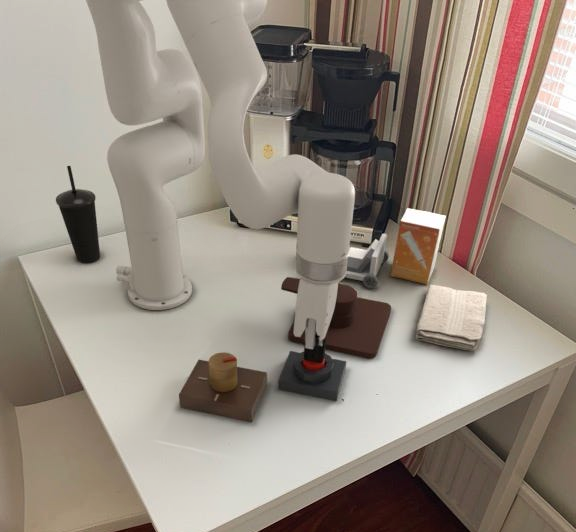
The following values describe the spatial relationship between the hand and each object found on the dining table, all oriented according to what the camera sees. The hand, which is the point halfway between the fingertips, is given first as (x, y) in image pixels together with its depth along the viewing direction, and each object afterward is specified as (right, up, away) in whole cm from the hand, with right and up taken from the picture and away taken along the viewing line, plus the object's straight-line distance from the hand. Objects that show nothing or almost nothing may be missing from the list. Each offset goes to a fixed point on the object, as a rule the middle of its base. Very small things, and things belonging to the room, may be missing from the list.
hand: (314, 358), depth 101 cm
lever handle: (+4, +7, +16) cm, 18 cm away
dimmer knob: (-15, -4, -2) cm, 15 cm away
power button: (0, -1, +1) cm, 2 cm away
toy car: (+7, +21, +30) cm, 37 cm away
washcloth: (+27, +8, +17) cm, 33 cm away
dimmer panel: (-15, -6, 0) cm, 16 cm away
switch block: (0, -4, +3) cm, 5 cm away
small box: (+22, +19, +29) cm, 41 cm away
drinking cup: (-47, +23, +30) cm, 61 cm away
